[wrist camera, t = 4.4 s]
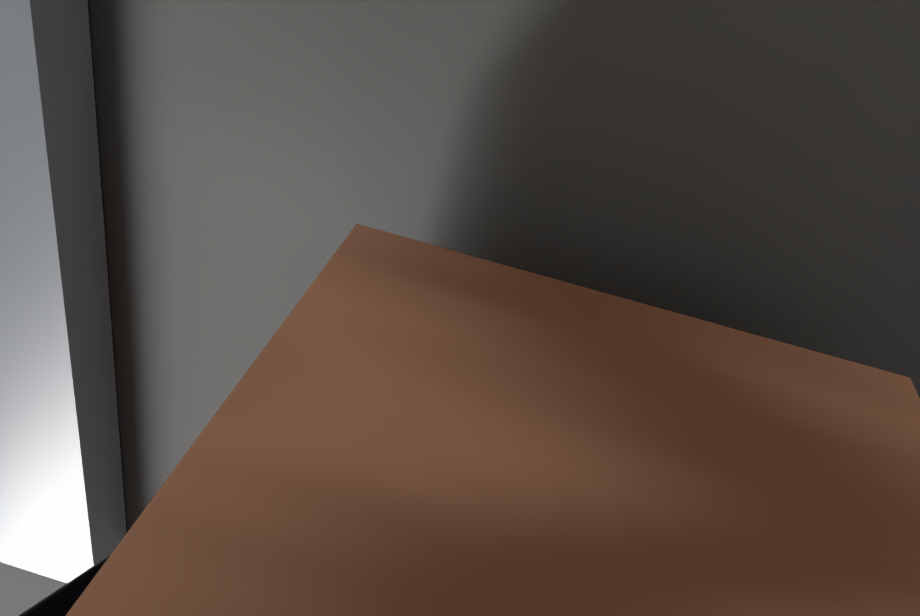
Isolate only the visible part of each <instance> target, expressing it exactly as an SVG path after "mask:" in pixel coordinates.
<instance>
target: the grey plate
mask: <svg viewBox="0 0 920 616" xmlns="http://www.w3.org/2000/svg"><path fill="white" fill-rule="evenodd" d="M126 534H127V532H126V518H125V504H124V491H123V477H122V463H121V450H120V436H119V422H118V409H117V395H116V382H115V368H114V354H113V341H112V327H111V313H110V300H109V286H108V272H107V259H106V245H105V232H104V218H103V204H102V191H101V177H100V163H99V150H98V136H97V122H96V109H95V95H94V81H93V68H92V54H91V41H90V27H89V13H88V0H0V562H2V563H5V564H8V565H11V566H15V567H18V568H21V569H24V570H27V571H30V572H33V573H36V574H40V575H43V576H46V577H49V578H52V579H55V580H58V581H61V582H64V583H69V582H70V581H72V580H73V579H75V578H76V577H78V576H79V575H81V574H82V573H84V572H85V571H87V570H88V569H90V568H91V567H93V566H94V565H96V564H97V563H99V562H100V561H102V560H103V559H105V558H106V557H108V556H109V555H111V554H112V552H113V551H114V550H115V548H116V547H117V546H118V544H119V543H120V542H121V540H122V539H123V538H124V536H125V535H126Z"/></svg>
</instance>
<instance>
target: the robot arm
mask: <svg viewBox="0 0 920 616" xmlns="http://www.w3.org/2000/svg"><path fill="white" fill-rule="evenodd" d="M109 556H110V555H109ZM109 556H108V557H106V558H105V559H103V560H102V561H100V562H99V563H97V564H96V565H94V566H93V567H91V568H90V569H88V570H87V571H85V572H84V573H82V574H81V575H79V576H78V577H76V578H75V579H73V580H72V581H70V582H69V583H67V584H66V585H64V586H63V587H61V588H60V589H58V590H57V591H55V592H54V593H52V594H51V595H49V596H48V597H46V598H45V599H43V600H42V601H40V602H39V603H37V604H36V605H34V606H33V607H31V608H30V609H28V610H26V611H25V612H23V613H22V614H20V615H19V616H66V614H67V613H68V612H69V610H70V609H71V608H72V606H73V605H74V604H75V602H76V601H77V600H78V598H79V597H80V596H81V594H82V593H83V591H84V590H85V589H86V587H87V586H88V585H89V583H90V582H91V581H92V579H93V578H94V577H95V575H96V574H97V573H98V571H99V570H100V569H101V567H102V566H103V565H104V563H105V562H106V561H107V559H108V558H109Z"/></svg>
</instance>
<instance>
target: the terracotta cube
mask: <svg viewBox="0 0 920 616" xmlns="http://www.w3.org/2000/svg"><path fill="white" fill-rule="evenodd" d="M66 616H920V398H919V396H918V394H917V391H916V389H915V387H914V385H913V383H912V381H911V378H910V377H906V376H902V375H899V374H895V373H892V372H888V371H884V370H881V369H877V368H874V367H870V366H866V365H863V364H859V363H856V362H852V361H848V360H845V359H841V358H838V357H834V356H830V355H827V354H823V353H820V352H816V351H812V350H809V349H805V348H802V347H798V346H794V345H791V344H787V343H784V342H780V341H776V340H773V339H769V338H766V337H762V336H758V335H755V334H751V333H748V332H744V331H740V330H737V329H733V328H730V327H726V326H722V325H719V324H715V323H712V322H708V321H704V320H701V319H697V318H694V317H690V316H686V315H683V314H679V313H676V312H672V311H668V310H665V309H661V308H658V307H654V306H650V305H647V304H643V303H640V302H636V301H632V300H629V299H625V298H622V297H618V296H614V295H611V294H607V293H604V292H600V291H596V290H593V289H589V288H586V287H582V286H578V285H575V284H571V283H568V282H564V281H560V280H557V279H553V278H550V277H546V276H542V275H539V274H535V273H532V272H528V271H524V270H521V269H517V268H514V267H510V266H506V265H503V264H499V263H496V262H492V261H488V260H485V259H481V258H478V257H474V256H470V255H467V254H463V253H460V252H456V251H452V250H449V249H445V248H442V247H438V246H434V245H431V244H427V243H424V242H420V241H416V240H413V239H409V238H406V237H402V236H398V235H395V234H391V233H388V232H384V231H380V230H377V229H373V228H370V227H366V226H362V225H359V224H356V226H355V227H354V228H353V230H352V231H351V232H350V234H349V235H348V236H347V238H346V239H345V240H344V242H343V243H342V244H341V246H340V247H339V248H338V250H337V251H336V252H335V254H334V255H333V256H332V258H331V259H330V261H329V262H328V263H327V265H326V266H325V267H324V269H323V270H322V271H321V273H320V274H319V275H318V277H317V278H316V279H315V281H314V282H313V283H312V285H311V286H310V287H309V289H308V290H307V291H306V293H305V294H304V295H303V297H302V298H301V300H300V301H299V302H298V304H297V305H296V306H295V308H294V309H293V310H292V312H291V313H290V314H289V316H288V317H287V318H286V320H285V321H284V322H283V324H282V325H281V326H280V328H279V329H278V330H277V332H276V333H275V335H274V336H273V337H272V339H271V340H270V341H269V343H268V344H267V345H266V347H265V348H264V349H263V351H262V352H261V353H260V355H259V356H258V357H257V359H256V360H255V361H254V363H253V364H252V365H251V367H250V368H249V369H248V371H247V372H246V374H245V375H244V376H243V378H242V379H241V380H240V382H239V383H238V384H237V386H236V387H235V388H234V390H233V391H232V392H231V394H230V395H229V396H228V398H227V399H226V400H225V402H224V403H223V404H222V406H221V407H220V408H219V410H218V411H217V413H216V414H215V415H214V417H213V418H212V419H211V421H210V422H209V423H208V425H207V426H206V427H205V429H204V430H203V431H202V433H201V434H200V435H199V437H198V438H197V439H196V441H195V442H194V443H193V445H192V446H191V448H190V449H189V450H188V452H187V453H186V454H185V456H184V457H183V458H182V460H181V461H180V462H179V464H178V465H177V466H176V468H175V469H174V470H173V472H172V473H171V474H170V476H169V477H168V478H167V480H166V481H165V482H164V484H163V485H162V487H161V488H160V489H159V491H158V492H157V493H156V495H155V496H154V497H153V499H152V500H151V501H150V503H149V504H148V505H147V507H146V508H145V509H144V511H143V512H142V513H141V515H140V516H139V517H138V519H137V520H136V522H135V523H134V524H133V526H132V527H131V528H130V530H129V531H128V532H127V534H126V535H125V536H124V538H123V539H122V540H121V542H120V543H119V544H118V546H117V547H116V548H115V550H114V551H113V552H112V554H111V555H110V556H109V558H108V559H107V561H106V562H105V563H104V565H103V566H102V567H101V569H100V570H99V571H98V573H97V574H96V575H95V577H94V578H93V579H92V581H91V582H90V583H89V585H88V586H87V587H86V589H85V590H84V591H83V593H82V594H81V596H80V597H79V598H78V600H77V601H76V602H75V604H74V605H73V606H72V608H71V609H70V610H69V612H68V613H67V614H66Z"/></svg>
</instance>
